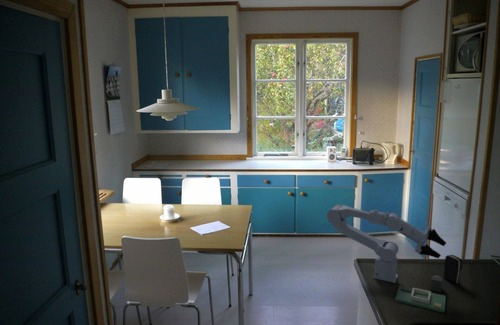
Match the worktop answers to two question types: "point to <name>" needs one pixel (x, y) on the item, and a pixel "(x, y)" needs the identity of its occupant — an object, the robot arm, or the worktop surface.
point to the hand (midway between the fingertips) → (442, 250)
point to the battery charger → (452, 268)
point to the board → (421, 298)
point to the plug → (436, 283)
